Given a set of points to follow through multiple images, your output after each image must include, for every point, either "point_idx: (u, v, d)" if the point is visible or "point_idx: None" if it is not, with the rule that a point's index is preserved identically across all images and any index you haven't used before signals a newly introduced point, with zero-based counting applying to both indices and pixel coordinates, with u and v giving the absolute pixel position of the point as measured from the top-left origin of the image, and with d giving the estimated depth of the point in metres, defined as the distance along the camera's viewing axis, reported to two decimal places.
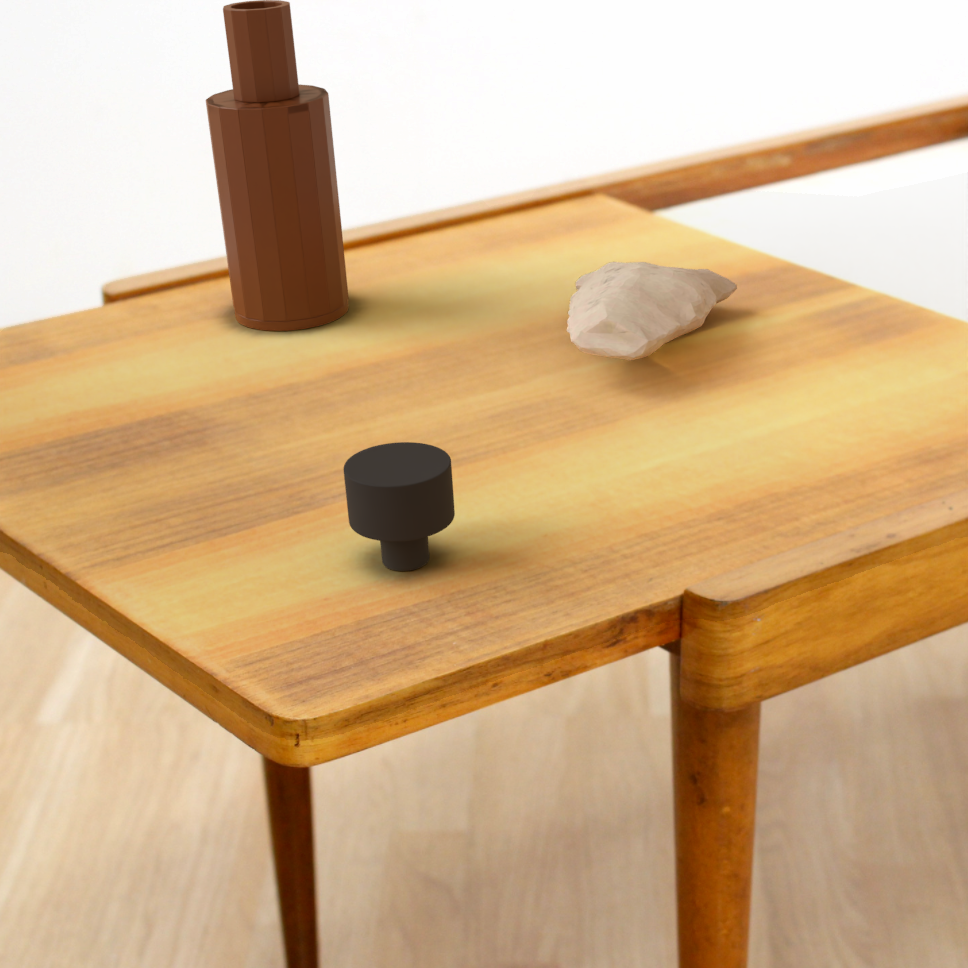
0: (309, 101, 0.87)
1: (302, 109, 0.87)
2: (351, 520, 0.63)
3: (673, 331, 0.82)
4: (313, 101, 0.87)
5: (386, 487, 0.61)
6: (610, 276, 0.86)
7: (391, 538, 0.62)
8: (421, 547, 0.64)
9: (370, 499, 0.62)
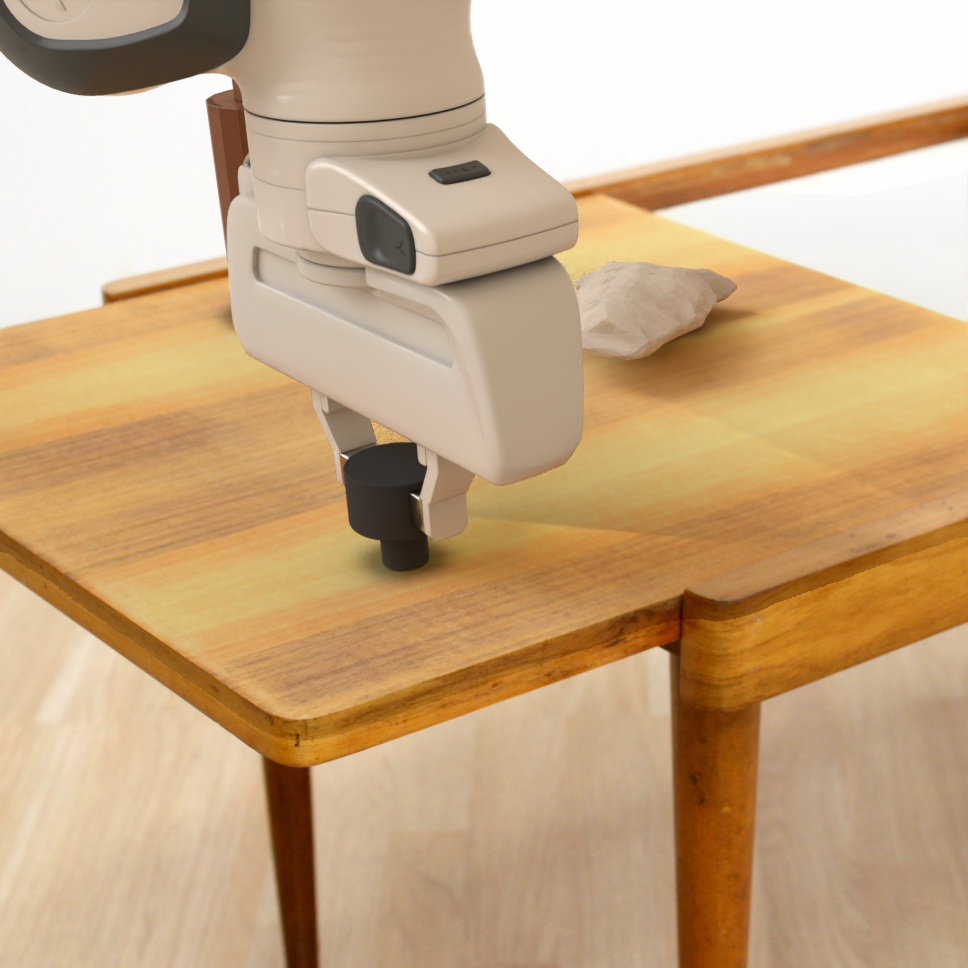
0: None
1: None
2: (351, 520, 0.63)
3: (673, 331, 0.82)
4: None
5: (386, 486, 0.61)
6: (610, 276, 0.86)
7: (391, 538, 0.63)
8: (421, 547, 0.64)
9: (370, 499, 0.62)
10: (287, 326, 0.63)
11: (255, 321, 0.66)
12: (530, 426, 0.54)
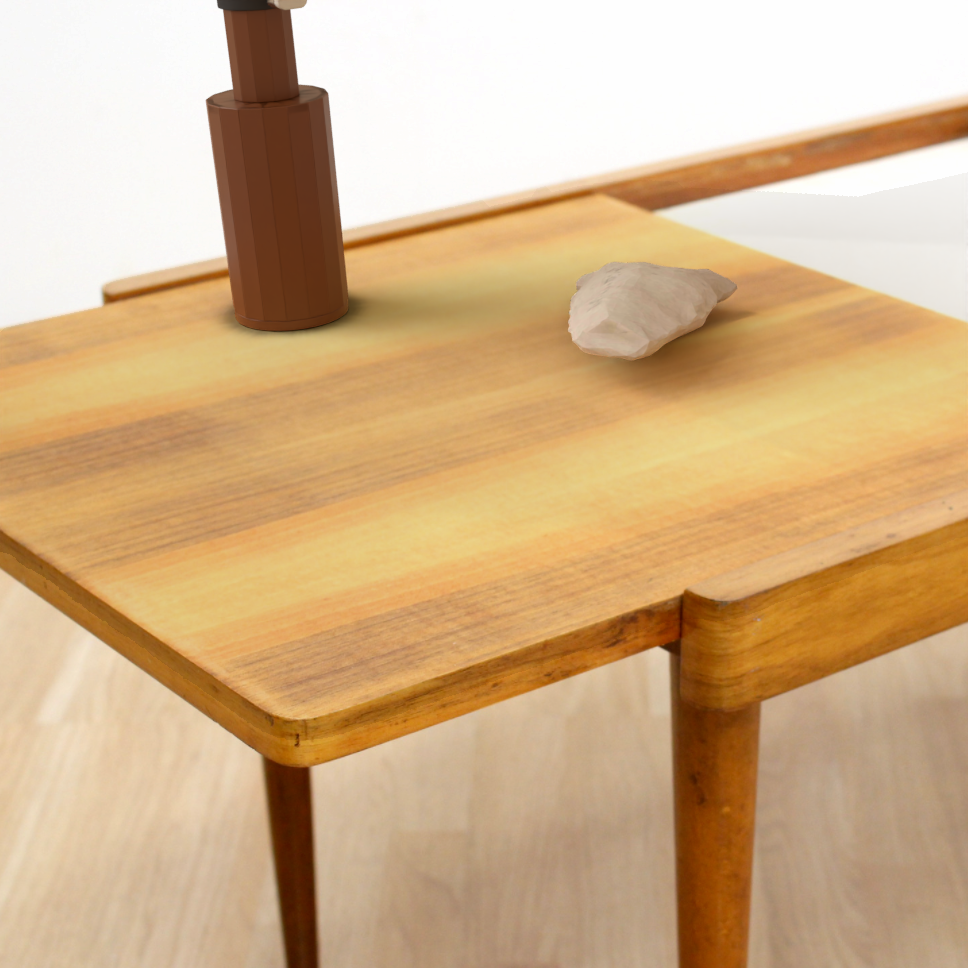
0: (309, 101, 0.87)
1: (302, 109, 0.87)
2: (218, 0, 0.86)
3: (674, 331, 0.82)
4: (313, 101, 0.87)
5: None
6: (611, 276, 0.86)
7: (246, 7, 0.85)
8: None
9: None
10: None
11: None
12: None
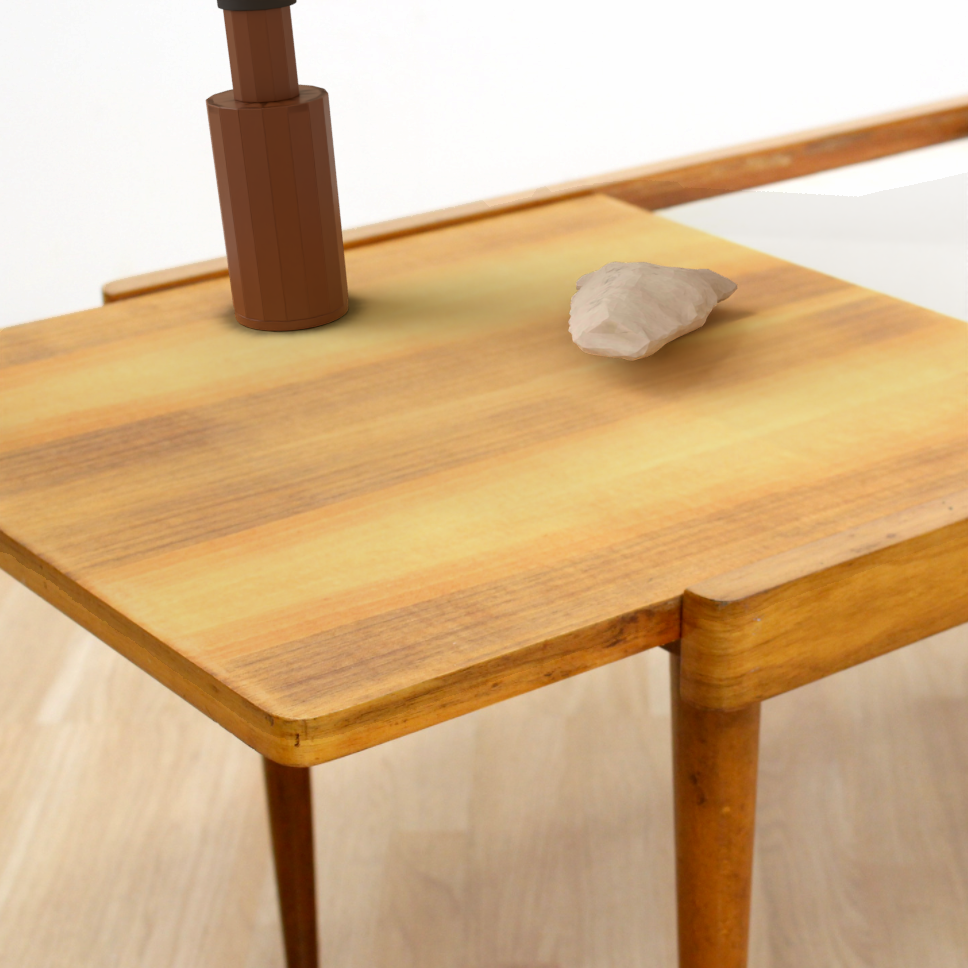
0: (309, 101, 0.87)
1: (302, 109, 0.87)
2: (218, 0, 0.86)
3: (675, 331, 0.82)
4: (313, 101, 0.87)
5: None
6: (611, 276, 0.86)
7: (246, 7, 0.85)
8: None
9: None
10: None
11: None
12: None
